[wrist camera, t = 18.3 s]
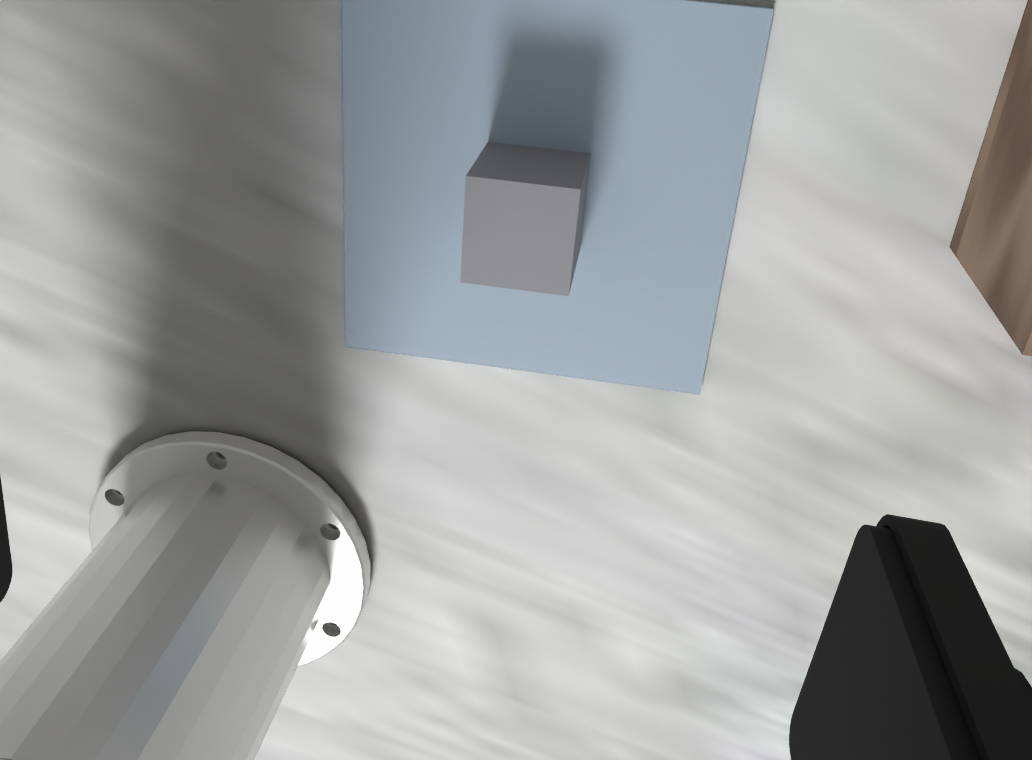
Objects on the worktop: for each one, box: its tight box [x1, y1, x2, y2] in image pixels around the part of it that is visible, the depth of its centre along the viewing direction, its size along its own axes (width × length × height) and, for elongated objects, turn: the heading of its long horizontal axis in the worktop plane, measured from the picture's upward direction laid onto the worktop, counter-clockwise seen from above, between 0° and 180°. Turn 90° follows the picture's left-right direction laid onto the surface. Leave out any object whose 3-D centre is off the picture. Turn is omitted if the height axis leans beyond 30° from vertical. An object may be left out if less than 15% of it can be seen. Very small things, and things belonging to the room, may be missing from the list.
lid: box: [342, 0, 774, 395], centre depth 32 cm, size 14×14×5 cm
